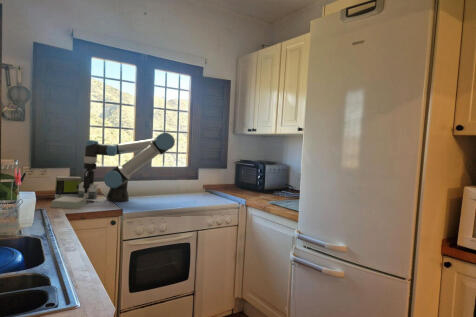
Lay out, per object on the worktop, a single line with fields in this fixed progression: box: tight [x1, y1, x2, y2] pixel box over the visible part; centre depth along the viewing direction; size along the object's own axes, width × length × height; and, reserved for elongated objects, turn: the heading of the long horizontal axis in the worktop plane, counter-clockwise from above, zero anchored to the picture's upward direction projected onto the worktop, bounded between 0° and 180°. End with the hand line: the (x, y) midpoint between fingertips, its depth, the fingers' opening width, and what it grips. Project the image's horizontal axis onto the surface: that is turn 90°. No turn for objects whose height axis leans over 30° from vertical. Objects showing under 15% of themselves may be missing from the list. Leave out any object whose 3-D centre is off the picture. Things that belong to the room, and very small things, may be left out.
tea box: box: [54, 176, 83, 200], centre depth 205 cm, size 15×10×15 cm, turn 123°
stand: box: [50, 197, 88, 210], centre depth 183 cm, size 14×16×4 cm
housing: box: [77, 182, 99, 200], centre depth 203 cm, size 12×6×10 cm, turn 99°
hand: (87, 197), depth 203 cm, fingers closed on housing, 6 cm apart
